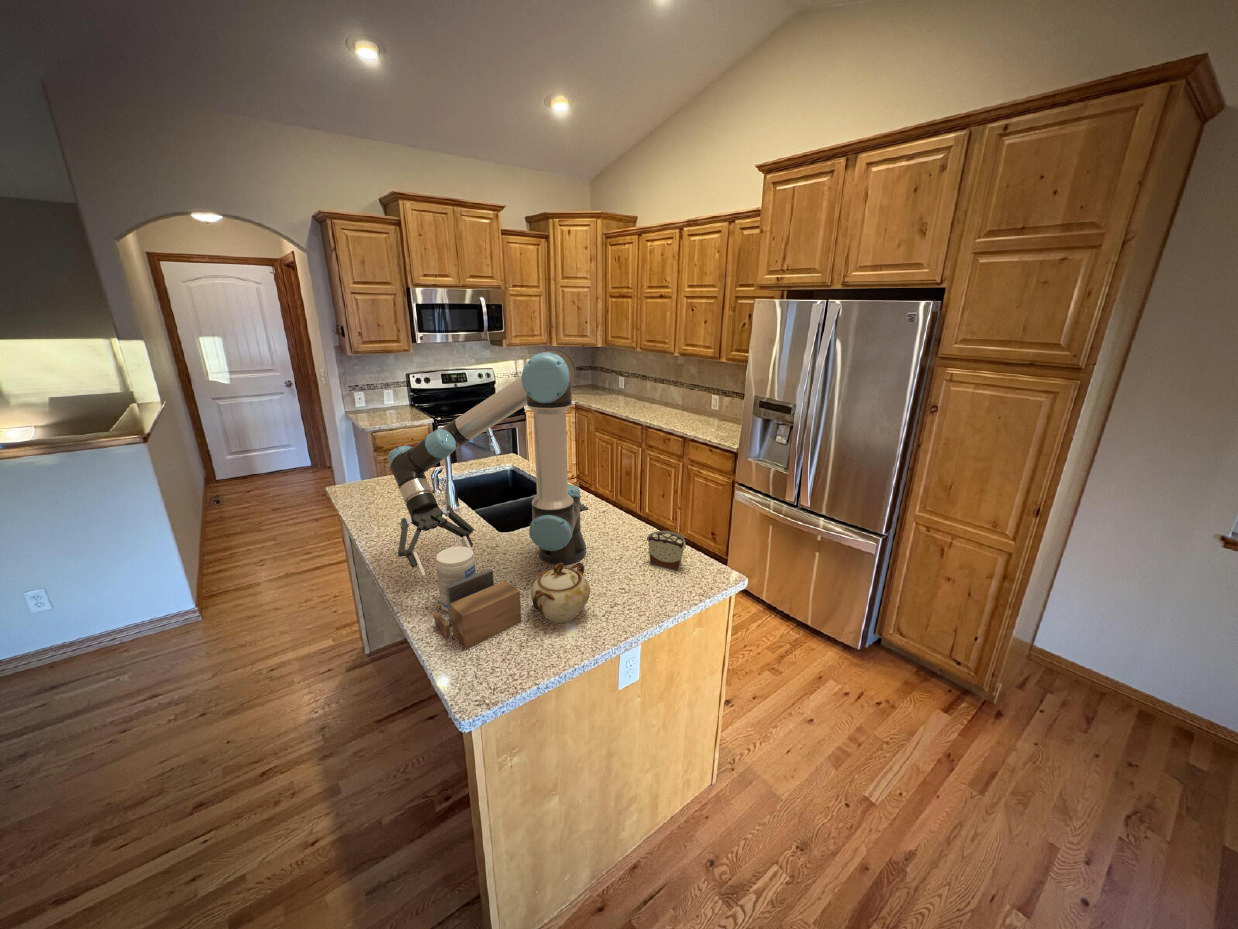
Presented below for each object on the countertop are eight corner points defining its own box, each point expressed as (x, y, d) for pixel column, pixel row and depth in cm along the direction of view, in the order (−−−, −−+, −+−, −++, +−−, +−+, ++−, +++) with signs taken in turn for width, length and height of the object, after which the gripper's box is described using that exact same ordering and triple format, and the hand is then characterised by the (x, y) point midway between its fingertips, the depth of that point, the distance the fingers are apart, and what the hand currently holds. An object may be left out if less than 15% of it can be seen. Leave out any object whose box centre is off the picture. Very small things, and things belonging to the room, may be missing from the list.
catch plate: (448, 619, 120) (444, 584, 117) (491, 600, 128) (488, 567, 125) (452, 623, 119) (448, 588, 116) (495, 604, 127) (492, 570, 124)
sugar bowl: (559, 645, 114) (557, 589, 109) (512, 623, 121) (509, 570, 117) (605, 604, 130) (606, 554, 125) (562, 587, 137) (561, 539, 132)
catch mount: (435, 626, 119) (431, 595, 117) (499, 598, 131) (497, 569, 129) (460, 652, 111) (456, 619, 108) (526, 619, 123) (524, 589, 120)
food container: (689, 564, 151) (691, 535, 147) (683, 573, 145) (685, 543, 142) (652, 555, 155) (653, 527, 152) (645, 564, 150) (646, 534, 147)
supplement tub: (477, 612, 125) (473, 561, 121) (438, 616, 123) (433, 565, 119) (479, 591, 134) (475, 544, 130) (443, 595, 132) (437, 547, 128)
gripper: (458, 493, 143) (487, 557, 138) (369, 516, 127) (397, 589, 121) (465, 481, 138) (495, 547, 133) (373, 504, 122) (403, 580, 116)
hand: (448, 567), depth 127 cm, fingers open, 13 cm apart
